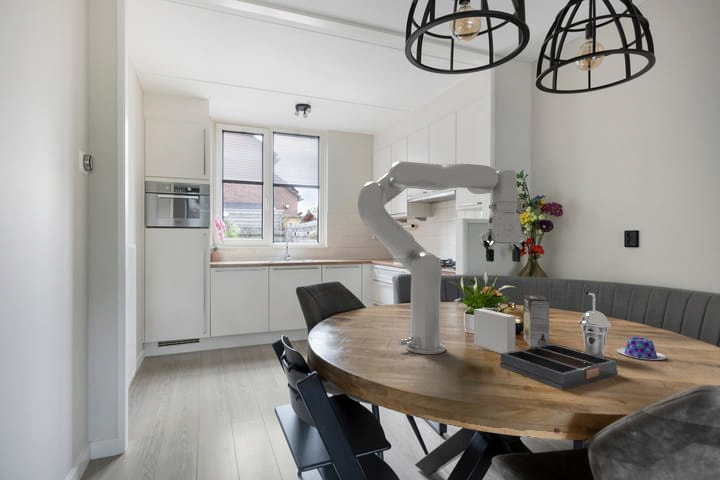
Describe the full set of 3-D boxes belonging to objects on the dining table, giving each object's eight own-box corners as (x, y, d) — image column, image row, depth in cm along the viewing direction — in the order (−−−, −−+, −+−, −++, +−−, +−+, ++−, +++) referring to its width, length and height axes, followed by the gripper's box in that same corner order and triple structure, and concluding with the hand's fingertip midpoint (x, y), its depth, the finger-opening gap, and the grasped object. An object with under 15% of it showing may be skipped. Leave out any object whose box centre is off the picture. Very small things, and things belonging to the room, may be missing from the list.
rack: (563, 390, 85) (563, 375, 85) (499, 366, 101) (499, 353, 102) (619, 374, 95) (618, 361, 95) (552, 354, 112) (552, 343, 112)
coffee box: (522, 339, 130) (522, 294, 130) (542, 340, 128) (542, 295, 128) (529, 346, 121) (529, 298, 121) (550, 348, 119) (550, 299, 119)
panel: (507, 355, 111) (507, 316, 111) (474, 344, 124) (473, 309, 124) (515, 354, 113) (515, 315, 113) (481, 343, 125) (481, 308, 125)
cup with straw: (618, 359, 108) (618, 292, 108) (593, 361, 106) (592, 293, 106) (594, 350, 116) (594, 288, 116) (570, 352, 114) (570, 289, 114)
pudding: (614, 356, 112) (614, 339, 112) (619, 348, 121) (619, 332, 121) (664, 365, 104) (664, 346, 104) (666, 355, 112) (666, 338, 112)
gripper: (487, 206, 112) (486, 262, 111) (534, 208, 116) (534, 262, 116) (473, 208, 119) (473, 260, 119) (519, 210, 123) (518, 261, 123)
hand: (503, 261), depth 117 cm, fingers open, 9 cm apart
